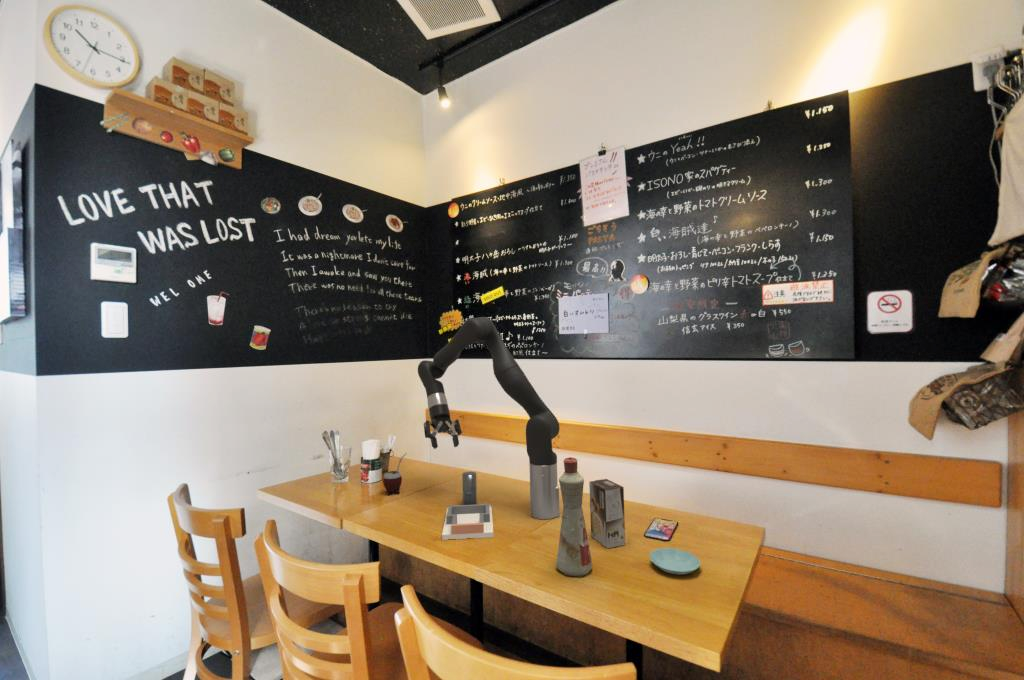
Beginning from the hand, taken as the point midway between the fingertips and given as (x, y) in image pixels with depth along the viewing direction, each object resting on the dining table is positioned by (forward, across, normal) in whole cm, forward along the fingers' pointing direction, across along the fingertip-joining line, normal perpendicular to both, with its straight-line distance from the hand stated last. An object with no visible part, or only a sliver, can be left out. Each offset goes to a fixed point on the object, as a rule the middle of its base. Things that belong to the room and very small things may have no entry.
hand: (446, 447), depth 164 cm
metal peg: (+21, +6, +2) cm, 22 cm away
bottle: (+50, +2, -47) cm, 69 cm away
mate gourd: (+7, -11, +28) cm, 31 cm away
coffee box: (+46, +21, -43) cm, 66 cm away
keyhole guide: (+30, -4, -11) cm, 32 cm away
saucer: (+56, +22, -61) cm, 86 cm away
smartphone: (+48, +39, -48) cm, 78 cm away
